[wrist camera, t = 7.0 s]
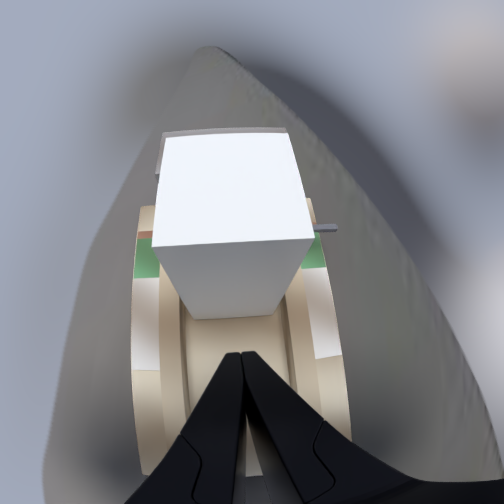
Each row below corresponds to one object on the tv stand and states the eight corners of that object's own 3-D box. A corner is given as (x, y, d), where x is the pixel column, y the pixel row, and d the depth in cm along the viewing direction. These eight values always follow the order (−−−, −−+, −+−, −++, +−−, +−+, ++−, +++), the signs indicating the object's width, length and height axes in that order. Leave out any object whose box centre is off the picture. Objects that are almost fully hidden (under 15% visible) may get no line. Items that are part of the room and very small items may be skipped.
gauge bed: (345, 452, 12) (402, 480, 6) (147, 469, 10) (104, 508, 5) (303, 195, 19) (325, 130, 14) (146, 203, 18) (122, 138, 13)
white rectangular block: (339, 307, 14) (425, 233, 7) (194, 319, 14) (151, 247, 6) (325, 242, 16) (382, 141, 9) (192, 249, 15) (165, 137, 8)
